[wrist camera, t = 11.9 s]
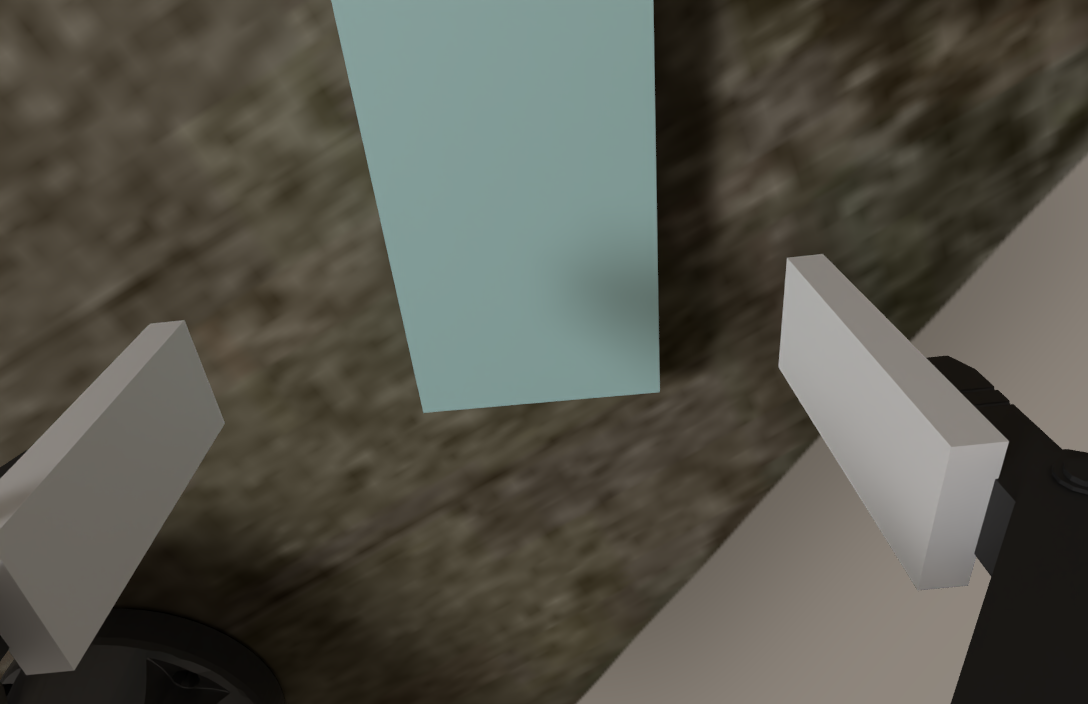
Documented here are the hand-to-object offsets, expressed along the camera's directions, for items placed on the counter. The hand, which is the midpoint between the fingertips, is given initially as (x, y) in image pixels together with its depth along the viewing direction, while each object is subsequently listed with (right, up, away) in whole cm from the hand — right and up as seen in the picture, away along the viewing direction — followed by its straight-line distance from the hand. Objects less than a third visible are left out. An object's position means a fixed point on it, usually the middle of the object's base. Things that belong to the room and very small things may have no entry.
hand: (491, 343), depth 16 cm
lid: (0, +6, +10) cm, 12 cm away
